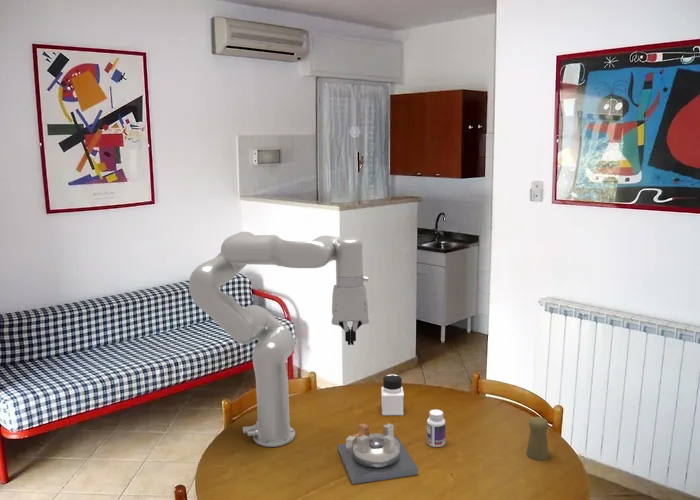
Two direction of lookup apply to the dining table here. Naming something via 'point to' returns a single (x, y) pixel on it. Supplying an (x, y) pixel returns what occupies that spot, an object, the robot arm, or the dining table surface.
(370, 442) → the round disc with cubes
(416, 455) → the dining table surface
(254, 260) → the robot arm
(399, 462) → the base plate
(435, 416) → the pill bottle
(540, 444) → the olive pawn
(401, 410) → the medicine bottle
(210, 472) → the dining table surface
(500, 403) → the dining table surface
